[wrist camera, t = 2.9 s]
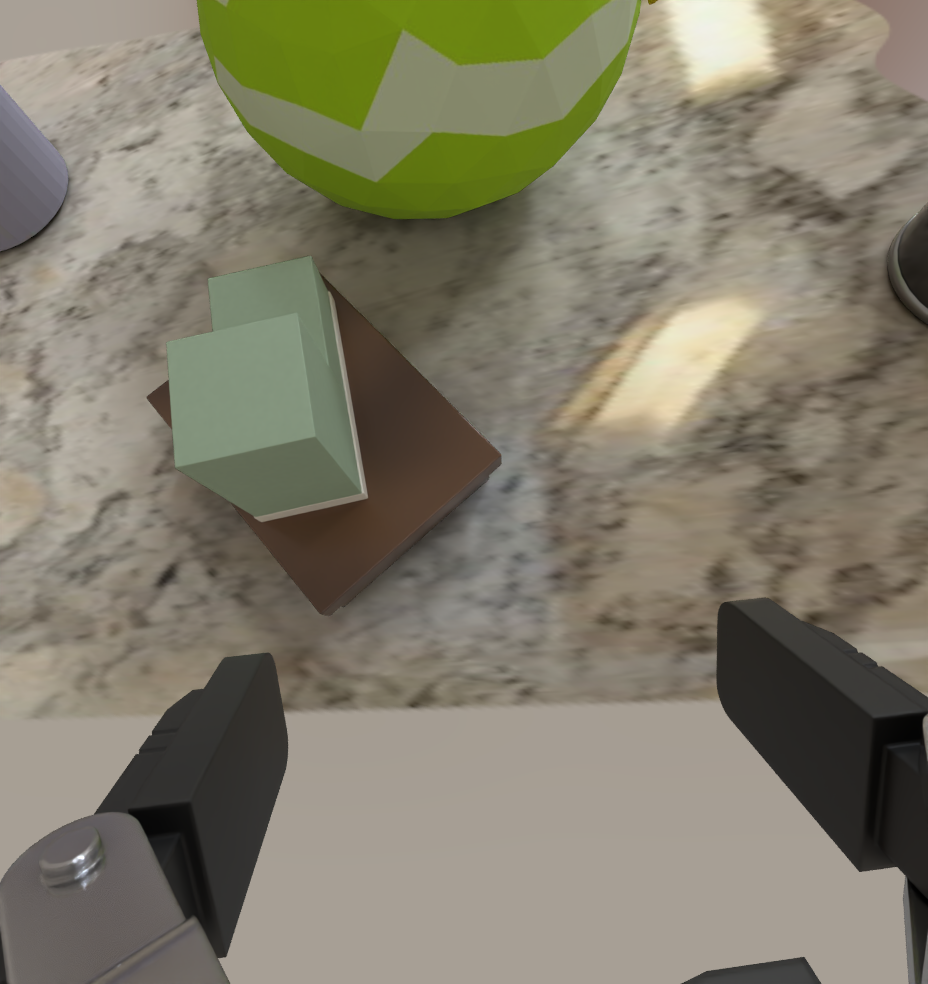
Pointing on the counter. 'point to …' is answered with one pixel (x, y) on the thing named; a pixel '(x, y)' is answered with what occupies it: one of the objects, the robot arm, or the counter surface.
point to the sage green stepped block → (267, 395)
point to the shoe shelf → (376, 472)
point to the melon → (417, 91)
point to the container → (26, 176)
